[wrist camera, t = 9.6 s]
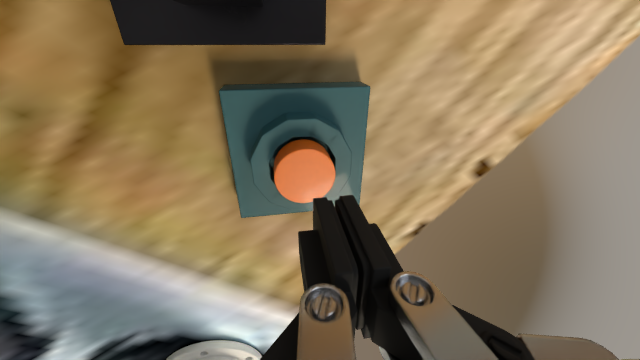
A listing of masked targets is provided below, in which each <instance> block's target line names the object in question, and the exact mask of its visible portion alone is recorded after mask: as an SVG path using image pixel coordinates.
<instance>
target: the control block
mask: <svg viewBox="0 0 640 360" xmlns="http://www.w3.org/2000/svg"><path fill="white" fill-rule="evenodd" d="M219 95H220V101H221V107H222V112H223V118H224V124H225V129H226V135H227V140H228V146H229V152H230V157H231V163H232V169H233V174H234V180H235V186H236V191H237V197H238V202H239V208H240V214H241V218H246V217H256V216H266V215H276V214H286V213H297V212H307V211H313V202H309V203H297V202H293V201H290V200H288V199H286V198H285V197H284V196H282V195H281V194H280V193H279V191H278V190H277V188H276V185H275V182H274V160H275V157H276V155H277V153H278V152H279V150H280V149H281V148H282V147H283V146H285V145H286V144H288V143H290V142H292V141H295V140H300V139H307V140H312V141H315V142H317V143H319V144H320V145H322V146H323V147H324V148H325V149H326V151H327V152H328V154H329V156H330V158H331V160H332V162H333V164H334V167H335V174H336V175H335V181H334V184H333V186H332V188H331V189H330V190H329V192H328V193H327V194H326V195H325V196H323V197H327V199H328V200H332V202H333V204H334V207H335V200H338V199H339V197H340V196H344V195H353V196H354V197H355V199H356V201H357V203H358V205H359V203H360V192H361V182H362V171H363V160H364V149H365V138H366V128H367V117H368V106H369V95H370V86H368V85H366V84H364V83H362V82H322V83H279V84H235V85H224V86H223V87H222V88H221V89H220V90H219Z"/></svg>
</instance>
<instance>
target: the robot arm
mask: <svg viewBox="0 0 640 360" xmlns="http://www.w3.org/2000/svg"><path fill="white" fill-rule="evenodd" d="M298 238H299V254H300V264H301V271H302V279H303V286H304V294H303V295H302V297H301V300H300V308H299V313H298V315H297V316H296V317H295V318H294V319H293V321H292V322H291V323H290V324H289V325H288V327H287V328H286V329H285V330H284V331H283V332H282V334H281V335H280V336H279V337H278V338H277V340H276V341H275V342H274V343H273V344H272V346H271V347H270V348H269V349H268V350H267V352H266V353H265V354H264V355H263V356H261V354H260V353H259V352H258V351H257V350H256V349H254V348H253V347H251V346H249V345H246V344H244V343H240V342H235V341H227V340H212V341H205V342H199V343H195V344H191V345H189V346H186V347H184V348H181V349H180V350H178V351H176V352H174V353H173V354H172V355H170V356H169V357H168V358H167V359H166V360H356V354H355V347H354V336H355V328H356V329H357V330H358V329H361V331H362V334H363V337H364V338H370V337H371V340H372V342H374V343H375V344H377V345H378V346H379V349H380V352H381V355H382V357H383V359H384V360H619V359H618V358H617V357H616V356H615V355H614V354H613V353H612V352H610V351H609V350H607V349H606V348H604V347H603V346H601V345H599V344H597V343H595V342H593V341H591V340H587V339H583V338H574V337H560V336H546V335H532V334H518V336H517V337H515V336H513V335H512V334H510V333H508V332H507V331H505V330H503V329H501V328H499V327H497V326H495V325H493V324H490V323H488V322H486V321H484V320H482V319H480V318H478V317H476V316H474V315H472V314H470V313H468V312H466V311H464V310H461V309H459V308H458V307H456V306H454V305H451V303H450V302H449V301H448V300H447V299H446V297H445V296H444V295H443V294H442V293H441V292H440V290H439V289H438V288H437V287H436V286H435V285H434V283H432V282H431V281H430V280H429V279H428V278H427V277H425V276H423V275H421V274H419V273H416V272H409V271H407V272H404V271H403V269H402V268H401V266H400V264H399V263H398V261H397V259H396V257H395V255H394V254H393V252H392V250H391V248H390V247H389V245H388V243H387V241H386V240H385V238H384V236H383V234H382V233H381V231H380V229H379V227H378V226H377V225H376V224H375V223H373V224H369V223H368V222H367V220H366V218H365V216H364V214H363V212H362V210H361V208H360V207H359V205H358V203H357V201H356V199H355V197H354V196H353V195H344V196H340V197H339V199H338V200H335V207H334V204H333V202H332V200H328V199H327V197H322V198H313V230H309V231H300V232H298ZM622 360H640V359H622Z"/></svg>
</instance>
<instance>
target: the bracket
mask: <svg viewBox="0 0 640 360" xmlns="http://www.w3.org/2000/svg"><path fill="white" fill-rule="evenodd" d="M110 2H111V5H112V8H113V11H114V14H115V17H116V20H117V23H118V27H119V30H120V33H121V36H122V39H123V42H124V45H325V34H326V0H110Z"/></svg>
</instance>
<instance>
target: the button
mask: <svg viewBox="0 0 640 360" xmlns="http://www.w3.org/2000/svg"><path fill="white" fill-rule="evenodd" d="M335 175H336V174H335V167H334V164H333V162H332V160H331V158H330V156H329V154H328V152H327V151H326V149H325V148H324V147H323V146H322V145H320V144H319V143H317V142H315V141H312V140H307V139H300V140H295V141H292V142H290V143H288V144H286V145H285V146H283V147H282V148H281V149H280V150H279V152H278V153H277V155H276V157H275V160H274V182H275V185H276V188H277V190H278V191H279V193H280V194H281V195H282V196H284V197H285V198H286V199H288V200H290V201H293V202H297V203H309V202H313V198H322V197H323V196H325V195H326V194H327V193H328V192H329V190H330V189H331V188H332V186H333V184H334V181H335Z"/></svg>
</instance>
